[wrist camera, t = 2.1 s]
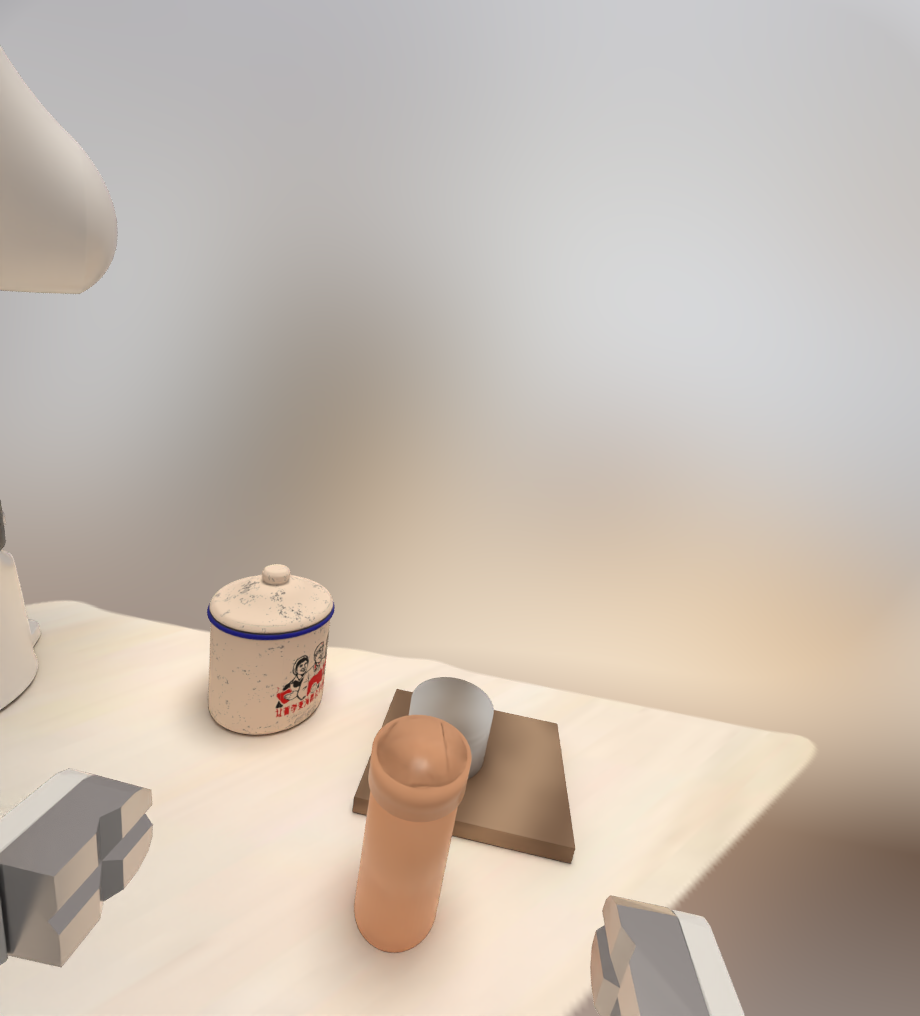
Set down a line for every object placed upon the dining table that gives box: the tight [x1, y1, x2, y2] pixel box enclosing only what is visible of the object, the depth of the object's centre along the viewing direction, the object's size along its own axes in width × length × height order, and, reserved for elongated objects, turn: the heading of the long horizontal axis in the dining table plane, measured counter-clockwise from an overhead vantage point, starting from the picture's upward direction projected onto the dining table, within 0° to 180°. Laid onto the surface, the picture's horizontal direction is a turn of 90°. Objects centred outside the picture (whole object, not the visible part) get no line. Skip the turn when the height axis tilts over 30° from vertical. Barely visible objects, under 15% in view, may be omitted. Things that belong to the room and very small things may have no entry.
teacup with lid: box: [207, 564, 334, 735], centre depth 37 cm, size 12×9×12 cm
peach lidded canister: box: [354, 715, 472, 952], centre depth 23 cm, size 5×5×10 cm
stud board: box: [353, 677, 575, 863], centre depth 33 cm, size 14×11×5 cm
